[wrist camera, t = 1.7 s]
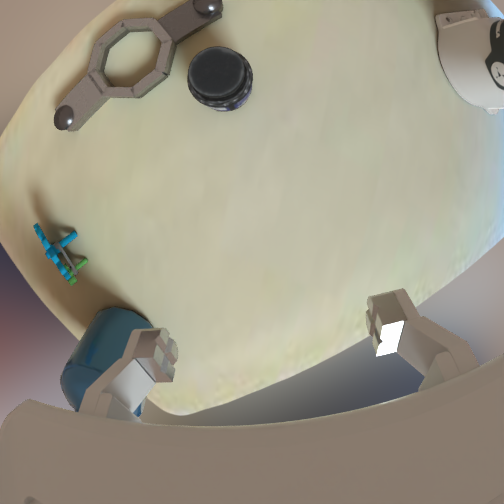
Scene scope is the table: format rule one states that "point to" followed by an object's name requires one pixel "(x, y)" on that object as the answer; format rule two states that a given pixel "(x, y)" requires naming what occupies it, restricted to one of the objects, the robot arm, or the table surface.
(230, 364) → the table surface
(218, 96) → the pill bottle
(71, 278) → the blue jointed connector toy
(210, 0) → the octagon ring handle
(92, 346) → the wine bottle
